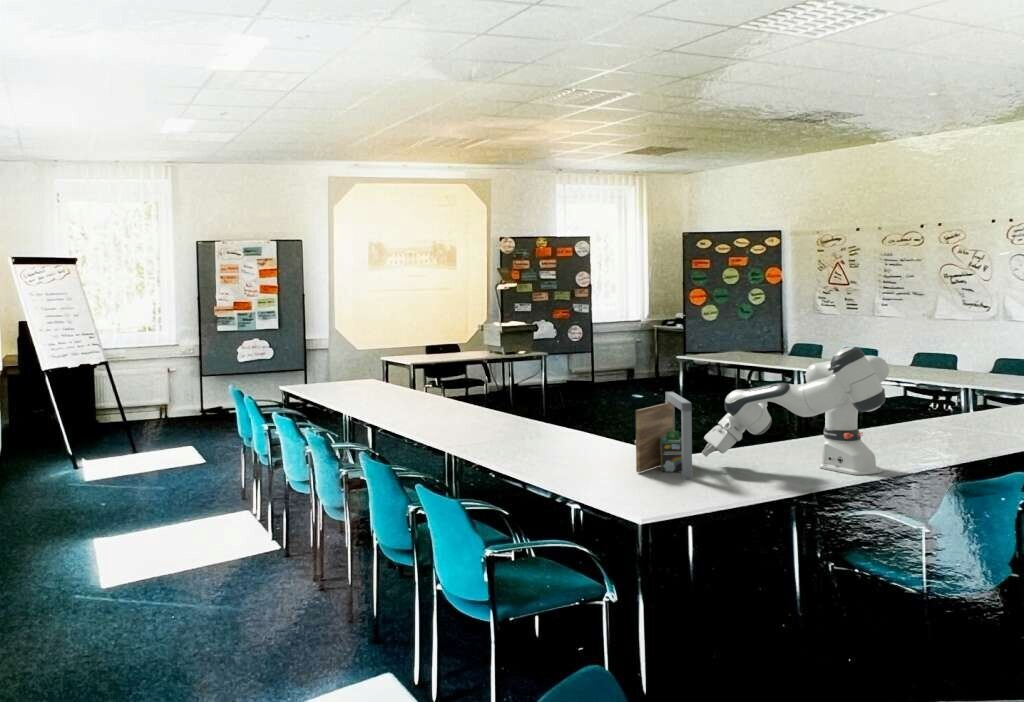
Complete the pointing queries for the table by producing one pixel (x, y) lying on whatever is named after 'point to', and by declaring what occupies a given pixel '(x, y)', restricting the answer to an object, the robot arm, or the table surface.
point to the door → (651, 434)
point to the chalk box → (671, 452)
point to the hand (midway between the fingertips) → (703, 454)
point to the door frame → (683, 429)
